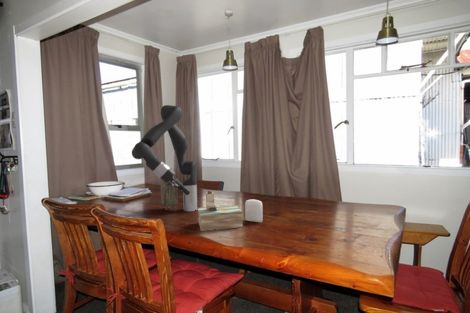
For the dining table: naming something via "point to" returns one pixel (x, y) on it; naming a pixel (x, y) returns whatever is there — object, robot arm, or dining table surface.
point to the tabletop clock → (169, 195)
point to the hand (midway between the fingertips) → (188, 193)
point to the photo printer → (253, 210)
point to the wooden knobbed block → (209, 200)
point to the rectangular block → (220, 217)
